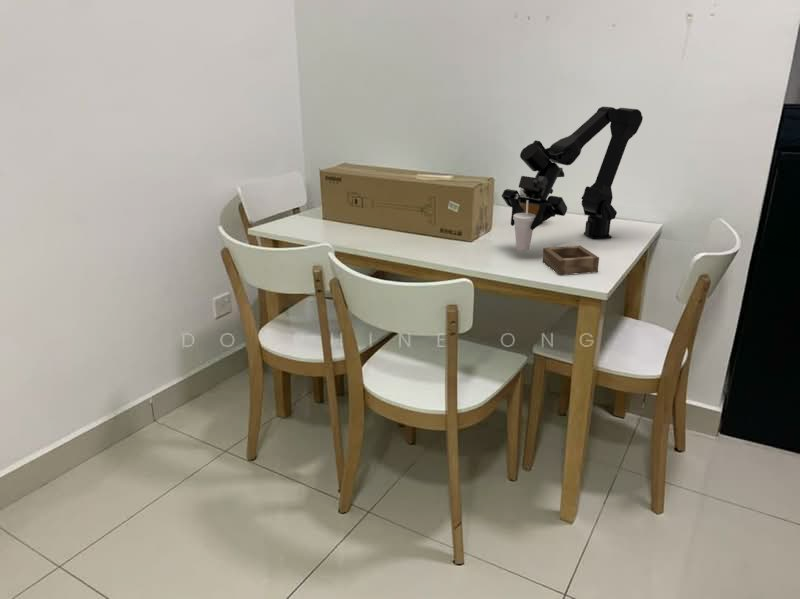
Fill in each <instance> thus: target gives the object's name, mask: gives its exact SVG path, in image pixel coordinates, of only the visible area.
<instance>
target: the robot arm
mask: <svg viewBox="0 0 800 599" xmlns="http://www.w3.org/2000/svg"><path fill="white" fill-rule="evenodd" d="M642 122H643V114H642V112H641V110H639V109H638V108H630V107H629V108H628V107H619V108H615V107H612V106H601V107H599V108H598V109H597V111H596V112H595V113H593V114H592V116H590V117H589V118H588V119H587V120H585V121H584V123H582V124H581V125H580V126H579V127H578V128H576V130H575V131H574V132H572V134H570V135H568V136H565V137H563V138H560V139H559V140H557V141H555V142H553V143H552V144H551V145H550V147H548V148H546V147H545V146H544V145H543V143H542V142H541V141H540V140H534V141H533V142H532V143H530V144H527V146H526V147H523V148H522V150H521V152H520V154H519V157H520V159H521V160H522V161H523V162H524V163H525V165H526V166H527V167H528V169H530V170H531V171H532V172H536V175H535V176H534V177H533V176H532V177H531V176H525V175H521V177H520V179H519V183H518V188H520V189H521V188H522V189H524V190H523V192H524V194H526V197H525V196H520V193H519V191H518V190H515V189H510V188H509V189H508V188H506V189H504V190H503V192H502V194H501V198H502V199H503V201H504V202H505V203H506V205H507V206H508V207H510V208H511V219H510V226H512V227H513V226H514V227H515V224H514V219H513V215H514V214H517V213H522V212H523V211H524V210H523V208H522V204H523V203H525V204H526V201H527V200H529V201H528V204H531V205H537V206H539V211H538V213H537V215H536V217H535V219H534V220H533V222H532V225H531V230H533V231H534V230H535V229H536V228H538V227H539V226H540V225H541V224H543V223H544V222H546V221H547V220H549V219H551V218H552V217H555V216H561V217H562V216H563V217H565V215H566V213H567V211H568V206H567V204H566V202H565V201H564V198H563V196H562V197H561V196H555V195H552V194H553V193H554V189H553V188H554V185H555V183H556V180H557V179H558V178H564V177H565V172H564V170H563V169H564V168H563V167H560V166H559V165H564V166H570V165H573V163H575V162H576V160H577V159H578V158H579V156H580V155H581V152H582V149H583V148H584V146H586V145H587V143H589V142H590V141H591V140H592V139H593V138H594V137H596V136H597V135H598V133H600V132H601V131H603V129H604V128H606V127H607V126H608V125H609V127H610V135H611V137H610V141H609V142H608V146H607V148H606V151H605V153H604V156H603V159H602V162H601V165H600V167H599V168H600V169H599V171H598V173H597V177H596V179H595V182H594V183H592V185H591V186H586V187H585V189H584V192H583V194H582V196H581V198H580V199H581V206H582V208H583V214H584V215H585V216H587V220H586V221H585V226H584V227H585V228H584V231H583V234H584V235H585V236H586V237H589V238H590V239H592V240H594V239H595V240H599V239H611V238H612V237H613V236H612V235H611V234H610V229H611V221H612V220H615V219H616V217H617V214H618V212H617V210H616V209H615V208H614V206H613V205H612V201H613V199H614V198H613V197H614V196H613V191H612V185H613V184H614V180H615V178H616V174H617V171H618V169H619V167H620V164H621V161H622V159H623V155H624V154H625V153H624V152H625V150H626V147H627V145H628V143H629V140H631V138H633V137H634V136H635V135H636V134H637V132H638V130H639V129H640V127H641V124H642ZM550 194H551V195H550Z"/></svg>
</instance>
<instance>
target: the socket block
mask: <svg viewBox="0 0 800 599" xmlns="http://www.w3.org/2000/svg"><path fill="white" fill-rule="evenodd" d="M599 262H600V257H599V256H598V255H596V254H594V253H593V252H591V251H590V250H588V249H587V248H585V247H584V246H582V245H580V244H579V245H567V246H557V247H556V246H554V247H544V248H543V251H542V263H543V264H544V263H545V264H544V265H545V266H546V267H548V268H549V267H550V268H549V269H550V270H552V271H553V270H554V271H555V272H556V273H555V272H554V271H553V272H554V273H555V274H556V275H558V276H563V275H564V274H567V275H575V274H574V273H578V274H588V272H590V273H598V271H599V265H600V264H599Z"/></svg>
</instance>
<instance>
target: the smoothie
mask: <svg viewBox="0 0 800 599" xmlns="http://www.w3.org/2000/svg"><path fill="white" fill-rule="evenodd" d="M528 201H529V200H527V201H526V213H517V214H514V215H513V219H514V233H515V235H514V236H515V246H516V248H515V249H517V250H519V251H529V250H530V247H531V242H532V236H533V231H534V229H533V230H531V225H532V222H533V220H534V219H535V217H536V215H535V214H532V213H528Z"/></svg>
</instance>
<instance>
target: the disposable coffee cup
mask: <svg viewBox="0 0 800 599" xmlns="http://www.w3.org/2000/svg"><path fill="white" fill-rule="evenodd" d="M523 190H524V189H522V188H520V189H519V191H518V193H519V194H520V196H525V197H526V194H524V192H523ZM522 208H523V210H524V211H523V212H522V213H526V204H525V203H523V204H522ZM538 211H539V206H537V205H531V204H528V213H532V214H535V215H537V213H538Z"/></svg>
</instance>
